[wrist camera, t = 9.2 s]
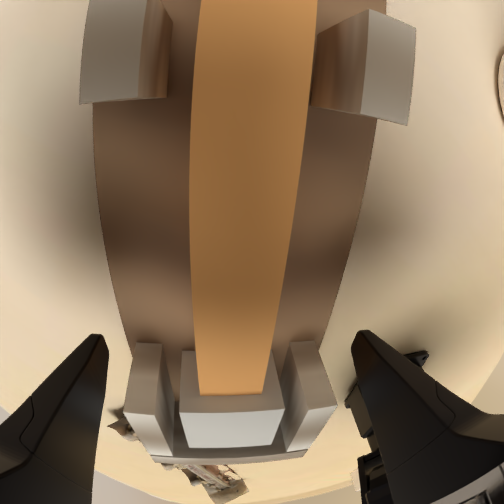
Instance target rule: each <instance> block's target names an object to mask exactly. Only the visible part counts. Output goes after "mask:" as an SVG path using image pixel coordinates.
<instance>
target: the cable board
mask: <svg viewBox="0 0 504 504" xmlns="http://www.w3.org/2000/svg"><path fill="white" fill-rule="evenodd" d="M200 7H201V0H90V1H89V6H88V12H87V18H86V24H85V31H84V39H83V48H82V59H81V73H80V100H79V104H87V103H93V143H94V162H95V175H96V186H97V195H98V204H99V212H100V219H101V226H102V232H103V238H104V244H105V250H106V255H107V260H108V265H109V270H110V275H111V280H112V284H113V288H114V293H115V297H116V301H117V305H118V309H119V313H120V316H121V320H122V324H123V327H124V331H125V334H126V337H127V341H128V344H129V347H130V350H131V354H132V357H133V360H132V365H131V370H130V375H129V380H128V386H127V391H126V397H125V403H124V409H123V413H124V415H125V417H126V418H127V420H128V422H129V423H130V425H131V427H132V428H133V430H134V432H135V433H136V435H137V436H138V438H139V439H140V441H141V443H142V444H143V446H144V447H145V449H146V450H147V452H148V453H149V454H151V455H150V456H151V457H152V459H153V460H154V462H155V463H168V464H188V465H226V464H246V463H259V462H269V461H278V460H285V459H293V458H299V457H303V456H304V454H305V453H306V452H307V450H308V449H309V448H310V446H311V445H312V443H313V442H314V441H315V439H316V438H317V436H318V435H319V433H320V432H321V430H322V429H323V427H324V426H325V424H326V423H327V421H328V420H329V418H330V417H331V415H332V414H333V412H334V411H335V409H336V407H337V406H338V404H337V401H336V398H335V396H334V393H333V390H332V387H331V384H330V382H329V379H328V376H327V373H326V371H325V368H324V365H323V362H322V360H321V357H320V354H319V351H318V350H319V348H320V345H321V342H322V339H323V336H324V333H325V331H326V328H327V325H328V322H329V319H330V316H331V313H332V309H333V306H334V303H335V300H336V297H337V294H338V290H339V287H340V284H341V280H342V277H343V273H344V270H345V266H346V263H347V259H348V256H349V252H350V248H351V244H352V240H353V237H354V233H355V229H356V225H357V220H358V216H359V212H360V208H361V203H362V199H363V194H364V189H365V185H366V180H367V175H368V170H369V164H370V159H371V153H372V148H373V142H374V136H375V129H376V123H377V119H381V120H385V121H390V122H394V123H398V124H402V125H406V126H407V124H408V117H409V110H410V103H411V94H412V85H413V75H414V62H415V45H416V28H414V27H412V26H410V25H408V24H406V23H404V22H401V21H399V20H397V19H394V18H392V17H390V16H387V15H386V0H318V1H317V16H316V29H315V41H314V53H313V64H312V74H311V84H310V93H309V102H308V111H307V120H306V128H305V137H304V145H303V153H302V160H301V168H300V175H299V182H298V190H297V197H296V203H295V210H294V217H293V224H292V230H291V236H290V243H289V249H288V255H287V261H286V267H285V273H284V279H283V285H282V291H281V296H280V302H279V308H278V313H277V318H276V324H275V329H274V335H273V340H272V345H271V349H272V353H273V358H274V362H275V366H276V371H277V375H278V380H279V384H280V389H281V393H282V398H283V402H284V406H285V410H284V413H283V416H282V418H281V421H280V424H279V426H278V429H277V431H276V434H275V436H274V439H273V441H272V444H271V445H262V446H249V447H231V448H189V445H188V442H187V439H186V435H185V432H184V428H183V425H182V421H181V417H180V414H179V403H180V380H181V362H182V351H196V348H195V336H194V322H193V306H192V288H191V265H190V229H189V166H190V131H191V109H192V92H193V77H194V64H195V53H196V42H197V32H198V23H199V15H200Z"/></svg>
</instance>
